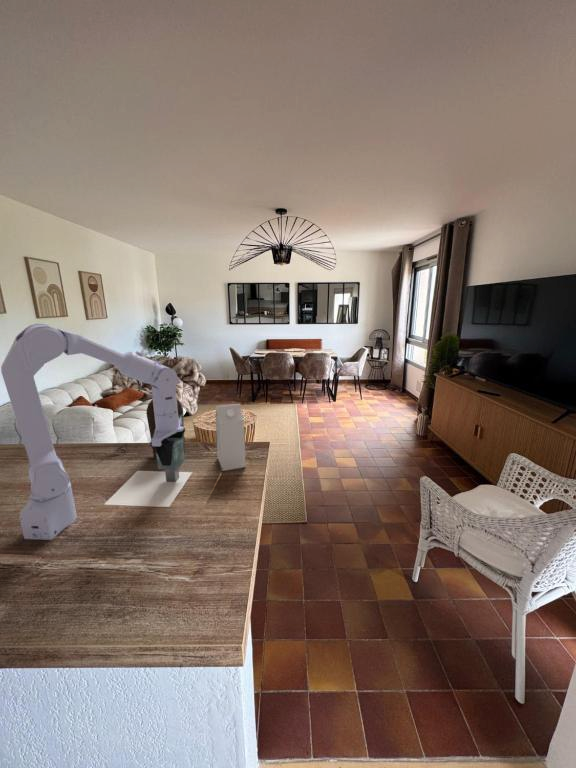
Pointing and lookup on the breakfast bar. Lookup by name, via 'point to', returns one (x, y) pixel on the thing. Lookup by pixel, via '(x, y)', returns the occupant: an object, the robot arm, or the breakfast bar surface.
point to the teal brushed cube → (174, 455)
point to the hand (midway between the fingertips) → (171, 459)
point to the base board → (149, 490)
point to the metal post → (172, 475)
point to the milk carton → (230, 436)
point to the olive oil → (153, 426)
